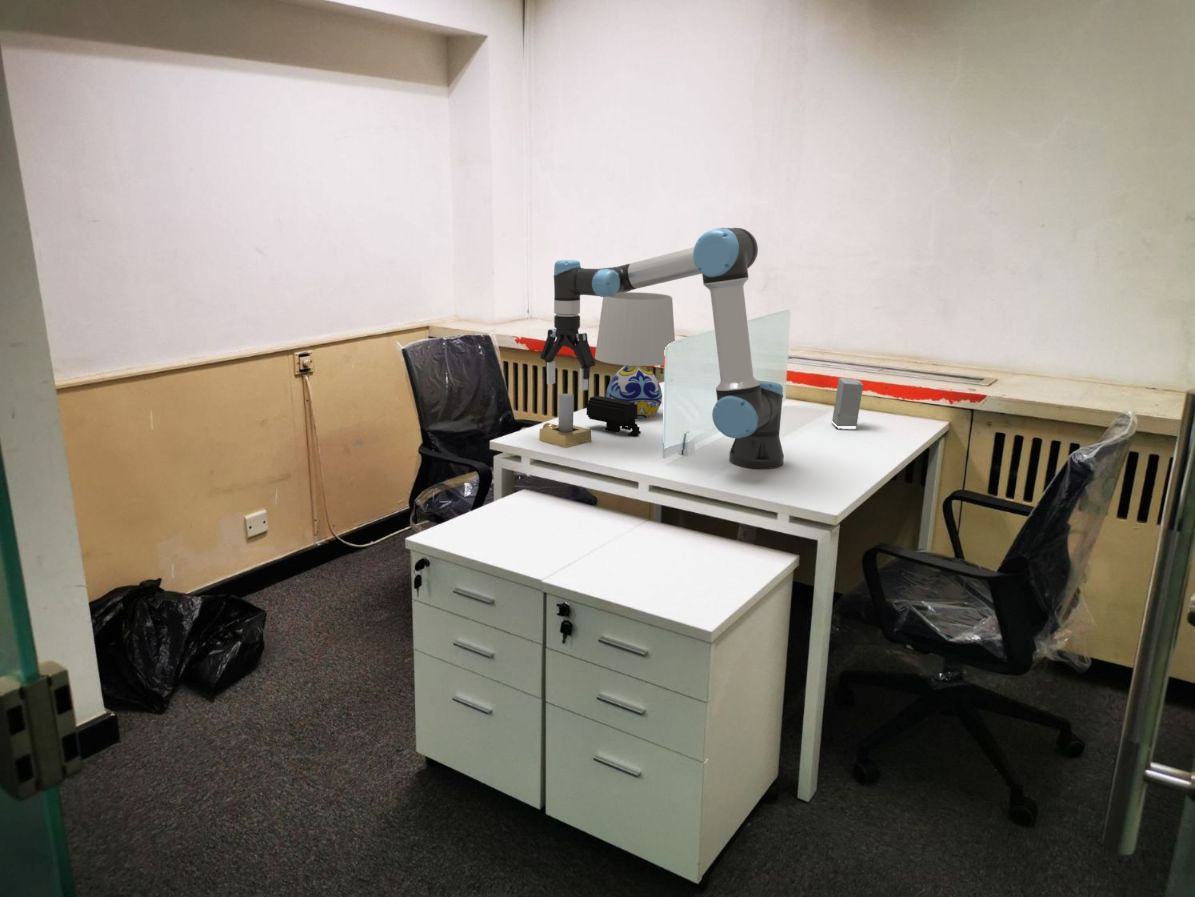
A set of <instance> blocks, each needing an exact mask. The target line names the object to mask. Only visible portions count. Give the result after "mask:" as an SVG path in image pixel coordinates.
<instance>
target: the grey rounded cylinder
mask: <svg viewBox="0 0 1195 897" xmlns="http://www.w3.org/2000/svg"><path fill="white" fill-rule="evenodd" d="M574 397H575V396H574V394H573V393H572V394H571V393H560V394H559V395H558V425H559V427H558V431H560V432H564V433H568V432H572V431H573V425H574V406H575V405H574V403H575V401H574V400H575V399H574Z"/></svg>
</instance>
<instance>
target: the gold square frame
mask: <svg viewBox="0 0 1195 897" xmlns="http://www.w3.org/2000/svg"><path fill="white" fill-rule="evenodd" d="M558 427H559V424H553V423H550V422H546V423H544V424H543V425H542V428H539V438H538V439H539V441H540V442H544V443H548V444H551V445H554V446H559V447H561V448H565V449H567V448H570V447H573V446H577V445H581V444H586V443H589V442H592V429H590V428H586V427H581V426H578V425H575V424H573V431H572V432H568V433H564V432H560V431H558Z"/></svg>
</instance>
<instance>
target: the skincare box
mask: <svg viewBox="0 0 1195 897" xmlns="http://www.w3.org/2000/svg"><path fill="white" fill-rule="evenodd" d="M863 388H864V384H863V383H862V381H861V380H859V379H858V378H850V377H838V383H837V388H836V395H835V400H834V406H833V412H832V413H833V414H832V417H831V422H832V421H833V422H834V423H835V424H836V425H837V426H856V427H857V426H858V420H859V413H860V407H861V401H862V395H863V390H864V389H863Z"/></svg>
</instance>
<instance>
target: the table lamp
mask: <svg viewBox="0 0 1195 897" xmlns="http://www.w3.org/2000/svg"><path fill="white" fill-rule="evenodd" d="M673 303H674V302H673V297H672V296H671V295H670V294H664V293H663V294H662V293H653V292H642V291H641V292H636V291H635V292H634V291H632V292H631V291H629V292H624V293H616V294H615V295H614V296H611V297H602V303H601V311H600V316H599V325H598V333H597V339H596V347H595V354H594V360H597V361H599V362H602V363H606V364H611V365H616V366H617V365H619V366H623V367H621V368H620V369H619V370H618V371H616V373H615V374H614V375H613V377H612V378H611V379H610V380H609V384H608V385H607V389H606V392H605V397H607V398H613V399H618V400H624V401H629V402H634V403H635V404H636V406H637V407H638V408H637V419H636V421H637V420H647V418H648V419H651V418H650V417H652V416H653V417H654V416H655V415H656V414H657V412H658V411H659V409H660V407H661V404H662V403H663V392H662V388H661V385H660V383H659V380H658V378H657V377H656V375H655V374H654V373H653V371H652V370H650V369H649V368H648V367H653V366H664V350H665V347H666V346H667V345H668V344H669V343H671V342H673V341H675V342H676V335H675V334H676V333H675V321H674V304H673ZM653 417H652V418H653Z"/></svg>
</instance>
